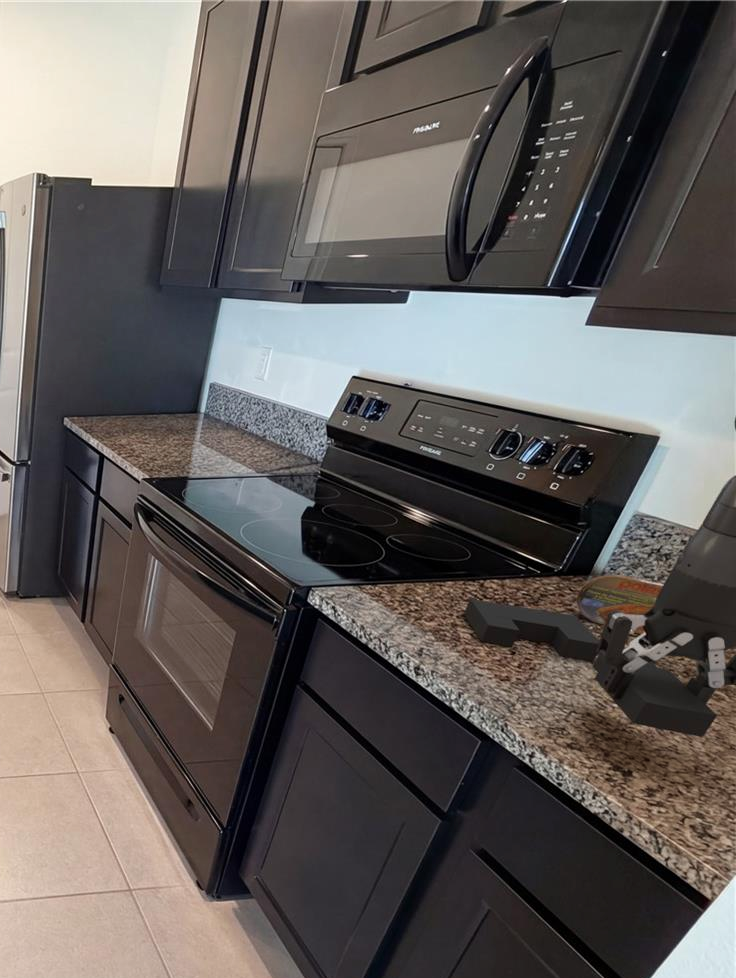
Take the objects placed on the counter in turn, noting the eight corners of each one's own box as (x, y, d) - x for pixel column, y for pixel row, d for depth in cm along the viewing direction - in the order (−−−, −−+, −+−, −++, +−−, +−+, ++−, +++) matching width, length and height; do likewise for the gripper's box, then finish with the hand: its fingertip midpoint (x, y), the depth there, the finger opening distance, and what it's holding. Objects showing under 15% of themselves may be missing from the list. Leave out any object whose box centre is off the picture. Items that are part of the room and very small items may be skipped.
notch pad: (566, 631, 106) (575, 615, 104) (593, 661, 98) (603, 644, 96) (463, 614, 111) (470, 598, 109) (480, 641, 102) (488, 624, 101)
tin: (566, 615, 111) (590, 570, 107) (568, 609, 113) (591, 565, 109) (693, 648, 102) (723, 600, 98) (692, 641, 104) (722, 594, 100)
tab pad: (641, 675, 83) (653, 655, 82) (702, 737, 72) (717, 715, 71) (582, 664, 85) (593, 645, 84) (632, 723, 74) (646, 702, 73)
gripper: (656, 574, 69) (584, 704, 76) (848, 599, 64) (750, 736, 71) (622, 549, 75) (558, 672, 82) (795, 570, 70) (710, 699, 77)
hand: (647, 701), depth 77 cm, fingers closed on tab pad, 6 cm apart
